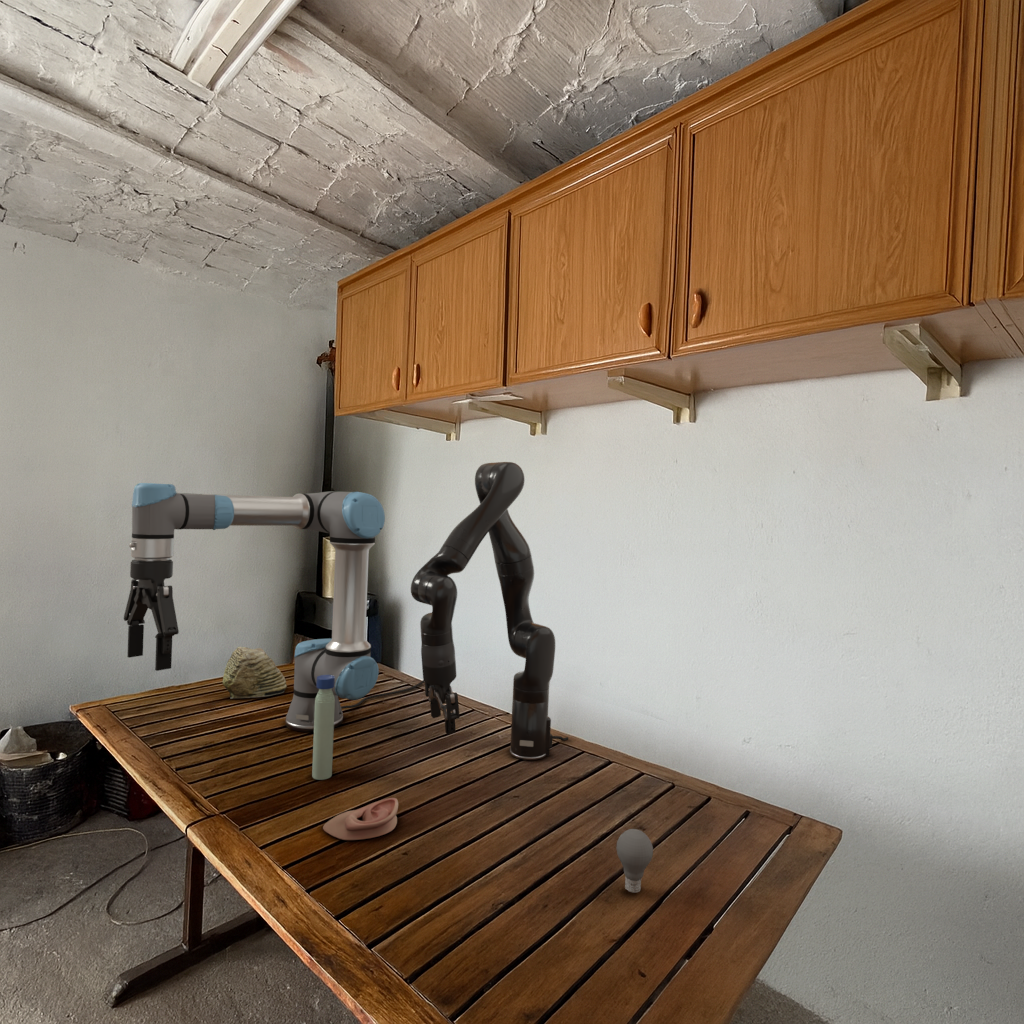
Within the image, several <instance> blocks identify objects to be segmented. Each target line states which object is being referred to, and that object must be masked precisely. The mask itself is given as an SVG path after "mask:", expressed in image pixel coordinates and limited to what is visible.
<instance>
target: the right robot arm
mask: <svg viewBox="0 0 1024 1024" xmlns="http://www.w3.org/2000/svg"><path fill="white" fill-rule="evenodd" d="M525 480H526V479H525V473H524V471H523V469H522V467H521V466H520V465H518V464H517V463H516V462H512V461H498V462H486V463H482V464H481V465H480V466H478V468H477V470H476V471H475V475H474V487H475V491H476V494H477V499H478V501H479V505H478V506H477V507H476V508H475V509H474V510H473V511H472V512H470V513H469V514H468V515H467V516H466V517H464V518H463V519H462V520H461V521H459V523H458V524H457V525H456V526H455V527H454V528H453V529H452V530H451V532H450V533H449V535H448V536H447V538H446V540H445V541H444V543H443V544H442V546H441V547H440V548H439V551H437V553H436V554H435V555H433V556H432V557H431V558H430V559H429V560H427V562H426V563H425V564H424V565H423V566H421V568H420V569H418V571H417V572H416V573H415V575H414V577H413V578H412V581H411V583H410V595H411V596H412V598H413V599H414V600H415V601H417V602H419V603H421V604H424V605H427V606H428V605H429V606H431V608H432V609H431V612H428V613H426V614H424V615H423V616H422V617H421V619H420V622H419V625H420V641H421V648H420V656H421V668H422V669H421V670H422V681H423V680H424V681H425V682H424V692H425V693H424V695H425V697H426V698H427V699H428V702H429V704H430V705H429V708H430V717H431V718H432V719H436V718H439V717H441V715H443V718H444V729H445V730H444V731H445V734H446V735H447V736H449V735H453V734H455V733H456V731H457V727H456V720H458V719H460V717H461V716H460V706H459V694H458V693H457V692H454V690H453V687H452V685H451V683H452V682H453V681H455V680H456V678H457V662H456V661H457V660H456V650H455V649H456V648H455V642H454V633H453V619H454V614H455V609H456V606H457V605H456V604H457V600H458V587H457V584H456V582H455V581H454V579H453V577H451V576H450V575H452V574H453V575H454V574H459V573H462V572H463V571H464V570H465V569H466V567H467V566H468V564H469V563H470V561H471V559H472V558H473V556H474V555H475V553H476V551H477V549H478V548H479V546H480V544H481V543H482V541H484V539H485V537H486V536H487V534H488V535H489V540H490V543H491V548H492V552H493V558H494V564H495V568H496V569H495V570H496V574H497V577H498V581H499V586H500V591H501V595H502V600H503V601H502V602H503V605H504V606H503V607H504V612H505V619H506V620H505V621H506V632H507V639H508V644H509V647H510V649H511V651H512V653H513V654H515V655H516V656H518V657H520V658H523V659H525V661H524V663H525V664H524V670H521V671H517V672H516V673H515V674H514V675H513V680H512V704H511V725H510V726H511V727H510V728H511V729H510V747H509V753H510V755H511V756H512V757H514V758H516V759H519V760H522V761H538V760H542V759H545V758H546V757H549V756H550V750H551V749H550V748H553V741H554V740H561V741H562V742H567V741H569V737H568V736H566V737H563V736H560V735H553V734H552V733H551V728H552V727H551V726H552V719H551V717H550V716H549V702H550V684H551V683H550V682H551V680H552V677H553V675H554V668H555V658H556V657H555V656H556V636H555V634H554V632H553V630H552V629H551V628H550V627H548V626H545V625H542V624H539V623H535V622H534V620H533V617H532V614H531V608H530V601H529V600H530V593H531V590H532V587H533V584H534V579H535V567H534V561H533V557H532V556H533V555H532V551H531V548H530V546H529V543H528V541H527V540H526V538H525V537H524V535H523V534H522V532H521V531H520V530H519V528H518V527H517V525H516V524H515V522H514V521H513V519H512V517H511V515H510V512H509V508H510V507H511V506H512V504H513V503H515V501H516V500H517V499H518V497H519V496H520V495H521V493H522V491H523V489H524V487H525Z"/></svg>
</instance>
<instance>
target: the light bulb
mask: <svg viewBox="0 0 1024 1024" xmlns="http://www.w3.org/2000/svg"><path fill="white" fill-rule="evenodd" d="M615 849H616V854H617V857H618V859H619V861H620V863H621V865H622V867H623V873H624V874H623V875H624V876H625V878H624V888H625V890H627V891H628V892H630V893H634V894H635V893H639V892H640V891H641V889H642V887H641V886H642V879H643V877H644V875H645V871H646V868H647V867H648V866H649V864H650V863H651V861H652V859H653V855H654V847H653V843H652V841H651V838H649V836H648V835H647V834H646V833H645V832H643V831H642V830H641V829H636V828H629V829H627V830H625V831H623V832H622V833H621V834H620V835H619V837H618V839H617V841H616V847H615Z"/></svg>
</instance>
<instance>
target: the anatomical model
mask: <svg viewBox="0 0 1024 1024" xmlns="http://www.w3.org/2000/svg"><path fill="white" fill-rule="evenodd" d="M398 809H399V801H398V799H397V798H396V797H389V798H388V797H387V798H383V799H381V800H378V801H375V802H372V803H369V804H367V805H365V806H363V807H360V808H357V809H353V810H352V809H351V810H348V811H344V812H341V813H340V814H337V815H336V816H333V818H330V819H329V820H328V821H327V822H325V823H324V824H323V826H322V830H323V831H324V832H325V833H326V834H329V835H330V836H332V837H334V838H337V839H339V840H342V841H358V840H359V841H360V840H366V839H373V838H377V837H380V836H383V835H386V834H388V833H390V832H392V831H393V830H394V829H395V828H396V826H397V824H398V817H397V813H398Z"/></svg>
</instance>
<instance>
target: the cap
mask: <svg viewBox="0 0 1024 1024" xmlns="http://www.w3.org/2000/svg"><path fill="white" fill-rule="evenodd" d="M334 686H335V676H333V675H321V676H318V677H317V684H316V687H317V688H318V689H331V688H333V687H334Z"/></svg>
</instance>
